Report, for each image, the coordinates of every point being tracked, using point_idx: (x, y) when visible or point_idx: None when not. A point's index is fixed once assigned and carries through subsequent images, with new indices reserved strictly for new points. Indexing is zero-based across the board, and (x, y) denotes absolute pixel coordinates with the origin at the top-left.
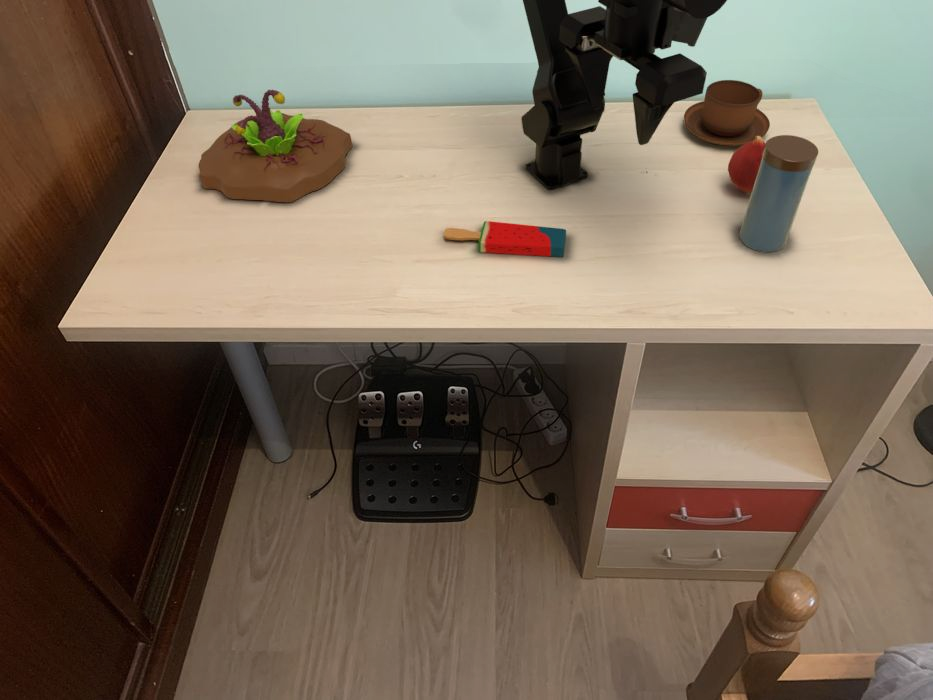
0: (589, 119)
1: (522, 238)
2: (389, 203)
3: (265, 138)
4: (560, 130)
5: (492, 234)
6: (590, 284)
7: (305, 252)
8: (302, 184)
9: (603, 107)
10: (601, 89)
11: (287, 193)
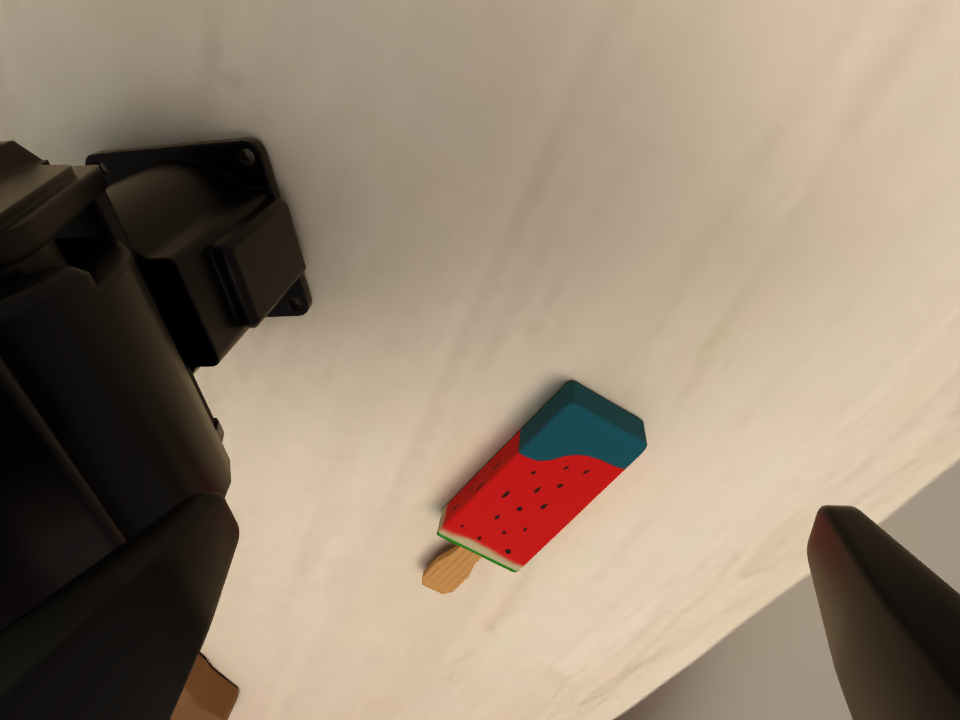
0: (154, 356)
1: (550, 503)
2: (275, 598)
3: None
4: (227, 483)
5: (499, 544)
6: (794, 418)
7: (388, 711)
8: (207, 699)
9: (69, 295)
10: (128, 634)
11: (229, 713)
